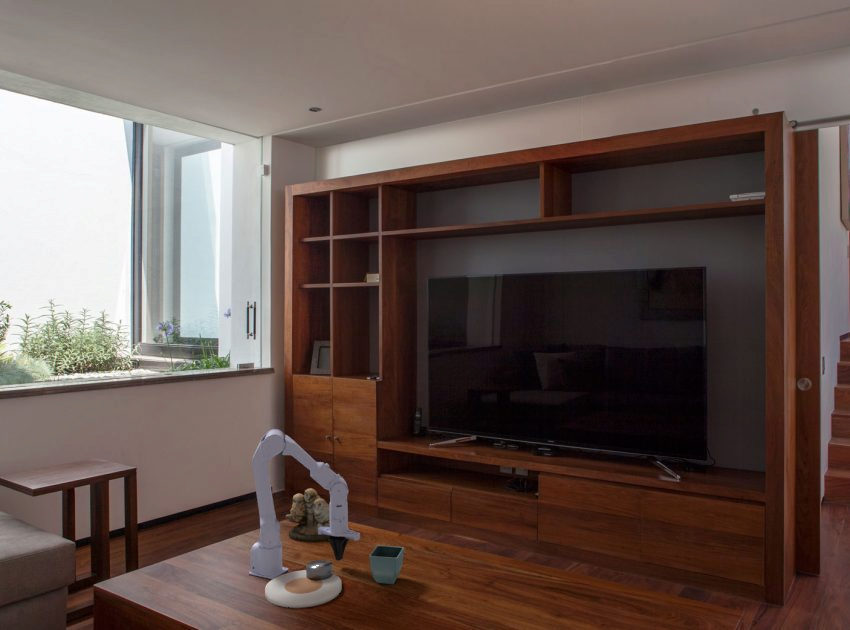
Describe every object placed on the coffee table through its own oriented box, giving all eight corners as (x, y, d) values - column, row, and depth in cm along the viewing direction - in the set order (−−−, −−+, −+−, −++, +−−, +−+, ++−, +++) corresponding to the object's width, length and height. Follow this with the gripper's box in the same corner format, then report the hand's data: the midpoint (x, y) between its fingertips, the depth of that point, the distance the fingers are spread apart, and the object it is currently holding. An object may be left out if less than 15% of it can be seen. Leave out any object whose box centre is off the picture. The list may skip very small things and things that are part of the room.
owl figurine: (280, 540, 235) (279, 492, 235) (293, 529, 246) (292, 483, 246) (328, 543, 231) (327, 494, 231) (339, 532, 243) (338, 485, 242)
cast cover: (300, 577, 199) (300, 567, 199) (316, 567, 206) (316, 558, 206) (322, 582, 195) (322, 571, 195) (337, 572, 203) (337, 562, 203)
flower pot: (398, 588, 195) (397, 557, 194) (369, 585, 196) (368, 555, 196) (404, 575, 203) (404, 546, 203) (377, 573, 205) (376, 545, 205)
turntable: (248, 598, 188) (248, 593, 188) (296, 570, 208) (296, 565, 208) (312, 614, 179) (312, 608, 179) (355, 582, 199) (355, 577, 199)
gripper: (364, 516, 211) (365, 558, 211) (326, 510, 217) (327, 551, 217) (353, 522, 204) (353, 566, 205) (314, 516, 211) (314, 559, 211)
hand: (339, 559), depth 211 cm, fingers closed
